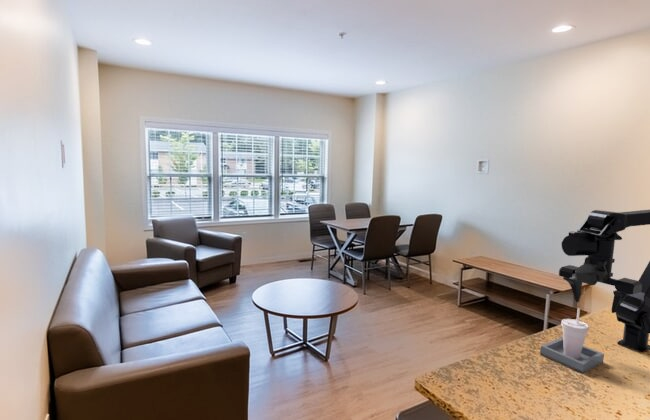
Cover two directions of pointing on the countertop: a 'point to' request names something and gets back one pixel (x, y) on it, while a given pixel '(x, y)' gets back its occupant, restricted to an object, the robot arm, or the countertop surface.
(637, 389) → the countertop surface
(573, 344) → the smoothie
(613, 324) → the countertop surface
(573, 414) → the countertop surface
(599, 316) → the countertop surface
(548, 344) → the tray
